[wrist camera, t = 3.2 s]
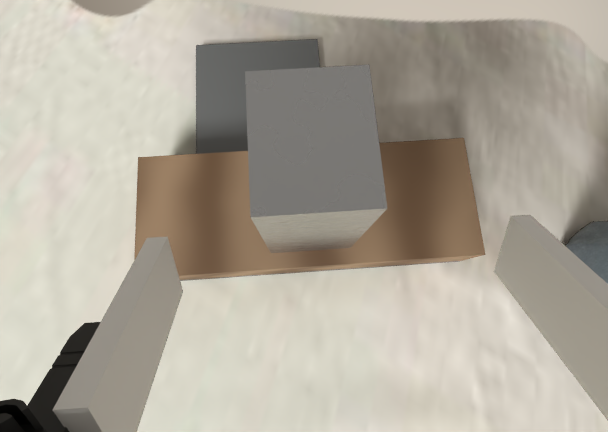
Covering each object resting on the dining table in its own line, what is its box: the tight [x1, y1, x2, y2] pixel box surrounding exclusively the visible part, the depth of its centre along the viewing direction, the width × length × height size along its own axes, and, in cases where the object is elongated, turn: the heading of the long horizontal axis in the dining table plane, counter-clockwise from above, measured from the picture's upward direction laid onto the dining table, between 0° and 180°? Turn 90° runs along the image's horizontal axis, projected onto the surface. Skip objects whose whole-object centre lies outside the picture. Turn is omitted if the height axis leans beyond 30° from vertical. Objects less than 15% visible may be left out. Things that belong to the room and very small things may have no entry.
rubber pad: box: [196, 39, 320, 154], centre depth 29 cm, size 10×10×1 cm
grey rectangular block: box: [245, 65, 387, 253], centre depth 19 cm, size 6×5×10 cm
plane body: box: [135, 138, 485, 281], centre depth 26 cm, size 22×8×4 cm, turn 94°
